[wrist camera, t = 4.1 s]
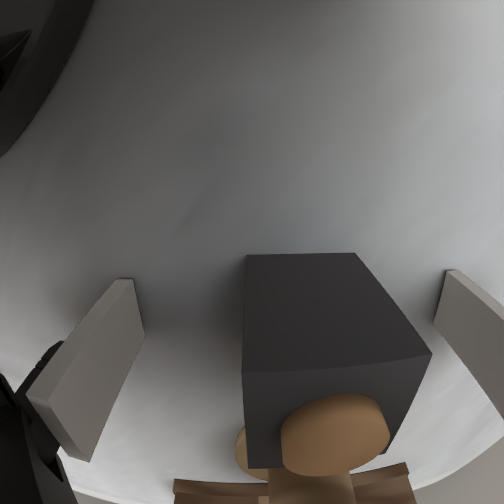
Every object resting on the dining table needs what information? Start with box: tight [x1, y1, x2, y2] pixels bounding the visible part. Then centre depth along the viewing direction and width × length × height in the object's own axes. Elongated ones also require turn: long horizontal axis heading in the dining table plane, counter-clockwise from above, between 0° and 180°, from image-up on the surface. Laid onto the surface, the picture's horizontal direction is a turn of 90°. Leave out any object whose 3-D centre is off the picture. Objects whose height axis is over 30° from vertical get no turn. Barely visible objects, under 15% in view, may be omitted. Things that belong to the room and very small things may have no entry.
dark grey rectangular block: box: [241, 253, 432, 477], centre depth 8 cm, size 4×4×7 cm
